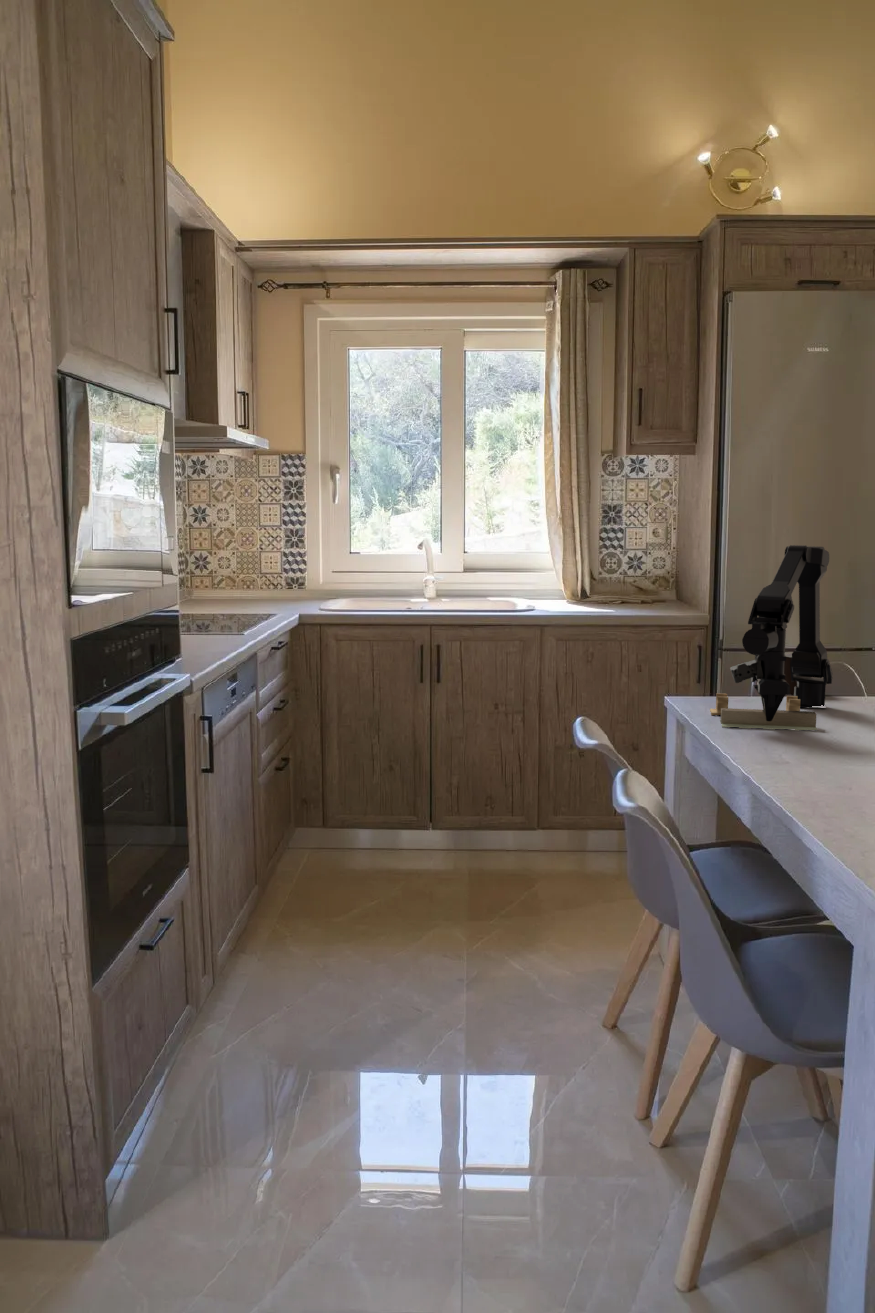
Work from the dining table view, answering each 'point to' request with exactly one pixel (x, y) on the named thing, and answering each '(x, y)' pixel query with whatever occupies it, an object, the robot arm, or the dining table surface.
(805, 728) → the mat
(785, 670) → the coffee mug
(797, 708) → the rack
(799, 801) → the dining table surface
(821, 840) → the dining table surface
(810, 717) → the rail
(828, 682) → the robot arm
